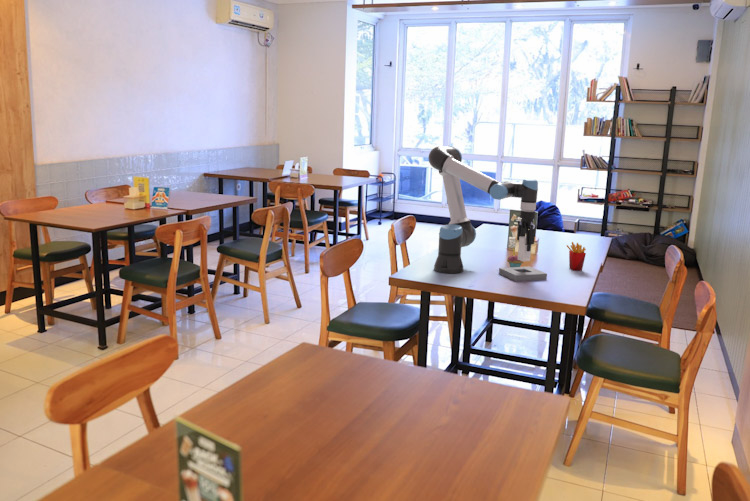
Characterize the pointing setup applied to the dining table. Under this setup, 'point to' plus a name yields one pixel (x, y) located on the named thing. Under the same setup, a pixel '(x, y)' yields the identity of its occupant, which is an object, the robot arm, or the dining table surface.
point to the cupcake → (514, 260)
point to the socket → (522, 273)
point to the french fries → (576, 257)
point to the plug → (522, 249)
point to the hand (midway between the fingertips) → (524, 256)
